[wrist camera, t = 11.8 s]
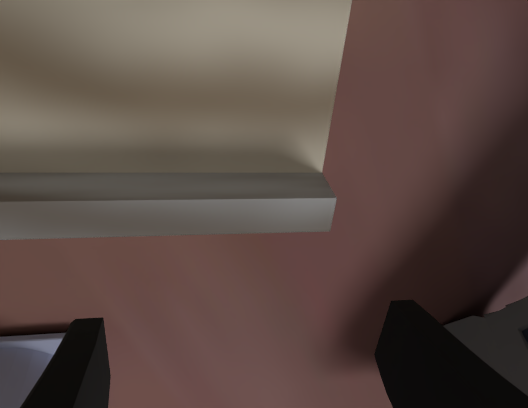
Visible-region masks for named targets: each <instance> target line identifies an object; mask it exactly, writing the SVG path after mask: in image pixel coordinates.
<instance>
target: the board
mask: <svg viewBox="0 0 528 408" xmlns="http://www.w3.org/2000/svg"><path fill="white" fill-rule="evenodd" d="M351 3H352V0H0V240H9V239H48V238H87V237H126V236H166V235H205V234H244V233H283V232H322V231H330V229H331V224H332V219H333V214H334V209H335V204H336V199H337V198H336V196H335V194H334V193H333V191H332V189H331V187H330V186H329V184H328V182H327V181H326V179H325V177H324V175H323V174H322V169H323V163H324V157H325V152H326V146H327V140H328V135H329V129H330V123H331V117H332V112H333V106H334V100H335V94H336V89H337V83H338V77H339V72H340V66H341V60H342V54H343V49H344V43H345V37H346V31H347V26H348V20H349V14H350V9H351Z"/></svg>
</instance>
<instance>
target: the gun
mask: <svg viewBox="0 0 528 408" xmlns="http://www.w3.org/2000/svg"><path fill="white" fill-rule="evenodd" d="M505 306H506V307H505V308H504V309H502V310H500V311H496V312H492V313H489V314H485V315H484V317H485V318H483V317H478V316H470V317H467V318H464V319H461V320H458V321H455V322H452V323H449V324H446V325H444V327H445V328H446V329H447V330H448V331H449V332H450V333H452V334H453V335H454V336H455V337H456V338H457V339H458V340H460V341H461V342H462V343H463V344H464V345H465V346H466V347H468V348H469V349H470V350H471V351H472V352H473V353H475V354H476V355H477V356H478V357H479V358H481V359H482V360H483V361H484V362H485V363H487V364H488V365H489V366H490V367H491V368H493V369H494V370H495V371H496V372H498V373H499V374H500V375H501V376H503V377H504V378H505V379H506V380H508V381H509V382H510V383H512V384H513V385H514V386H516V387H517V388H518V389H519V390H521V391H522V392H523V393H525V394H526V395H527V396H528V296H527V297H525V298H523V299H521V300H519V301H516V302H514V303H511V304H508V305H505Z"/></svg>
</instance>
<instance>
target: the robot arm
mask: <svg viewBox="0 0 528 408" xmlns="http://www.w3.org/2000/svg"><path fill="white" fill-rule="evenodd" d="M374 355H375V358H376V362H377V365H378V368H379V372H380V375H381V378H382V381H383V384H384V387H385V390H386V393H387V395H388V397H389V399H390V402H391V404H392V406H393V408H528V396H527V395H526V394H525V393H523V392H522V391H521V390H519V389H518V388H517V387H516V386H514V385H513V384H512V383H510V382H509V381H508V380H506V379H505V378H504V377H503V376H501V375H500V374H499V373H498V372H496V371H495V370H494V369H493V368H491V367H490V366H489V365H488V364H487V363H485V362H484V361H483V360H482V359H481V358H479V357H478V356H477V355H476V354H475V353H473V352H472V351H471V350H470V349H469V348H468V347H466V346H465V345H464V344H463V343H462V342H461V341H460V340H458V339H457V338H456V337H455V336H454V335H453V334H452V333H450V332H449V331H448V330H447V329H446V328H445V327H444V326H442V325H441V324H440V323H439V322H438V321H437V320H436V319H434V318H433V317H432V316H431V315H430V314H429V313H428V312H426V311H425V310H424V309H423V308H422V307H421V306H419V305H418V304H417V303H416V302H415V301H413V300H400V301H391V303H390V306H389V309H388V313H387V316H386V319H385V322H384V325H383V328H382V332H381V335H380V338H379V341H378V344H377V348H376V351H375V354H374ZM109 389H110V368H109V360H108V352H107V344H106V336H105V328H104V320H103V318H87V319H75V320H74V321H73V322H72V323H71V324H70V326H69V328H68V330H67V332H66V333H54V334H38V335H22V336H6V337H0V408H108V401H109Z"/></svg>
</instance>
